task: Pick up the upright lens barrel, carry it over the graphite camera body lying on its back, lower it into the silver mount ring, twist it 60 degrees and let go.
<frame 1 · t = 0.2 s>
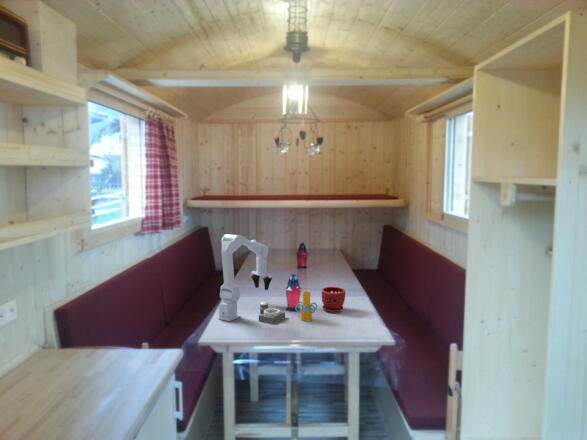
hand: (261, 288, 250), 10 cm above the table, tool pointing down, fingers open, 7 cm apart
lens: (264, 313, 236), on the table
plant pot: (333, 310, 241), on the table
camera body: (272, 319, 226), on the table
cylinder: (306, 319, 226), on the table
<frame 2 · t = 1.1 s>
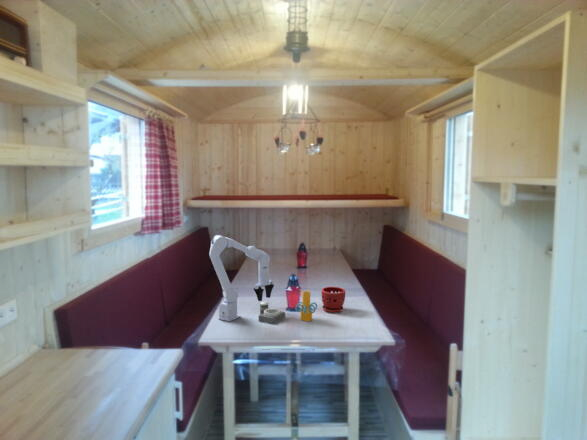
hand: (264, 299, 235), 8 cm above the table, tool pointing down, fingers open, 7 cm apart
nothing on the table moved.
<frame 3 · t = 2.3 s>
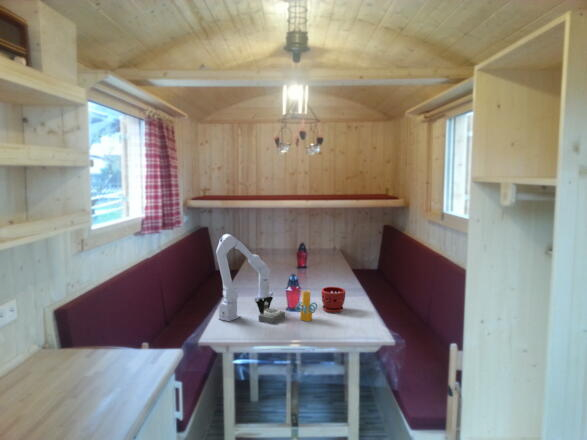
hand: (264, 311, 236), 1 cm above the table, tool pointing down, fingers closed on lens, 5 cm apart
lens: (264, 313, 236), on the table, touching gripper
everything else where it was.
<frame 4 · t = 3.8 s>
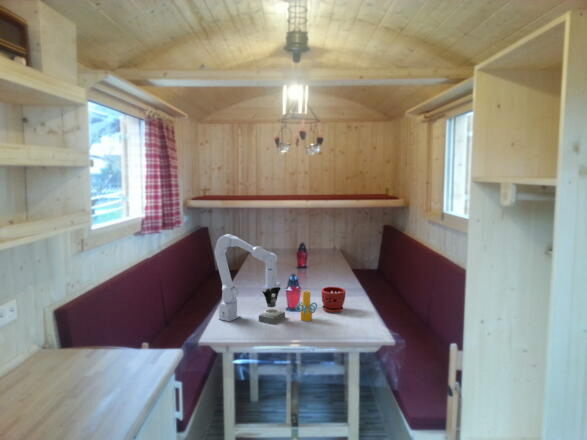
hand: (271, 302, 226), 9 cm above the table, tool pointing down, fingers closed on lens, 5 cm apart
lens: (271, 305, 226), point 7 cm above the table, touching gripper
everything else where it was.
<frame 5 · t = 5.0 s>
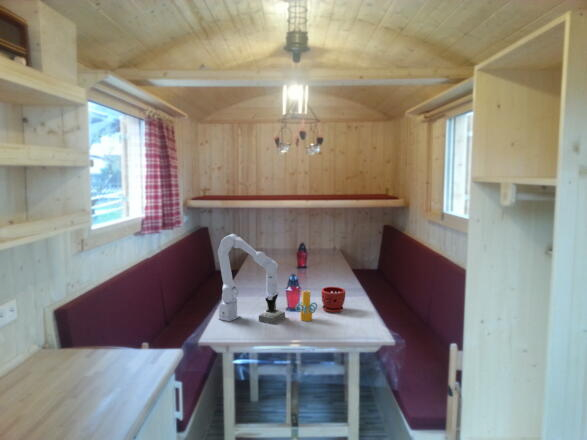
hand: (271, 309, 226), 5 cm above the table, tool pointing down, fingers closed on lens, 5 cm apart
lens: (271, 313, 226), point 3 cm above the table, touching gripper
everything else where it was.
when the fingers open (5 cm above the table, at t = 5.6 s): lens stays where it is, resting on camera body.
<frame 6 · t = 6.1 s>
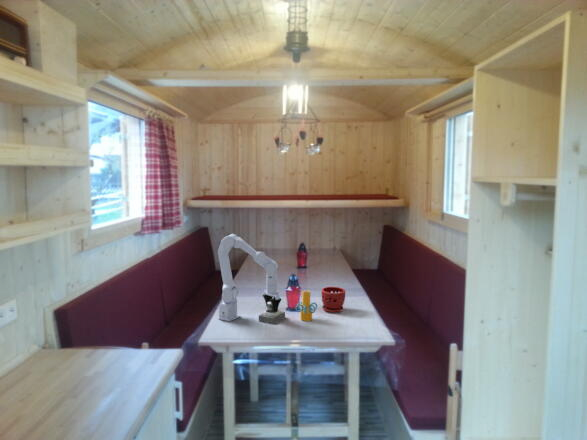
hand: (272, 309, 226), 5 cm above the table, tool pointing down, fingers open, 7 cm apart
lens: (271, 313, 226), point 3 cm above the table, touching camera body
everything else where it was.
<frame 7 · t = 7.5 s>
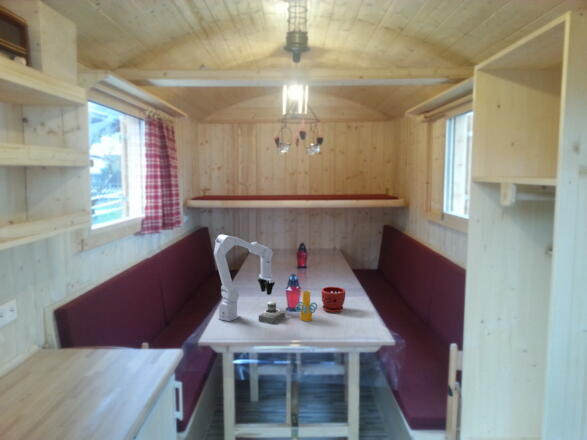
hand: (266, 293, 241), 10 cm above the table, tool pointing down, fingers open, 7 cm apart
nothing on the table moved.
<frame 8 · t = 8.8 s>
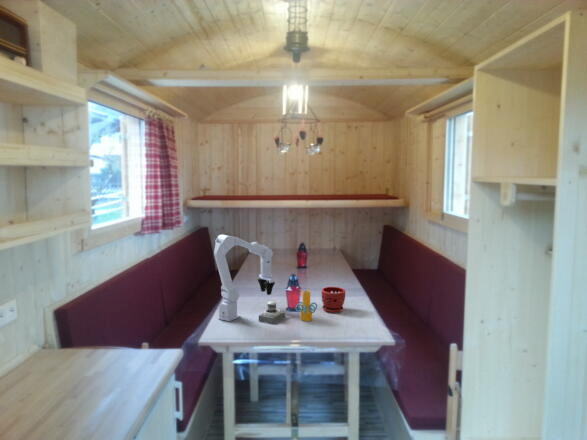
hand: (266, 293, 241), 10 cm above the table, tool pointing down, fingers open, 7 cm apart
nothing on the table moved.
at the end: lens 0.1 cm off-centre on the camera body, point 3.0 cm above the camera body's base; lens tilted 1°; the gripper is holding nothing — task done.
